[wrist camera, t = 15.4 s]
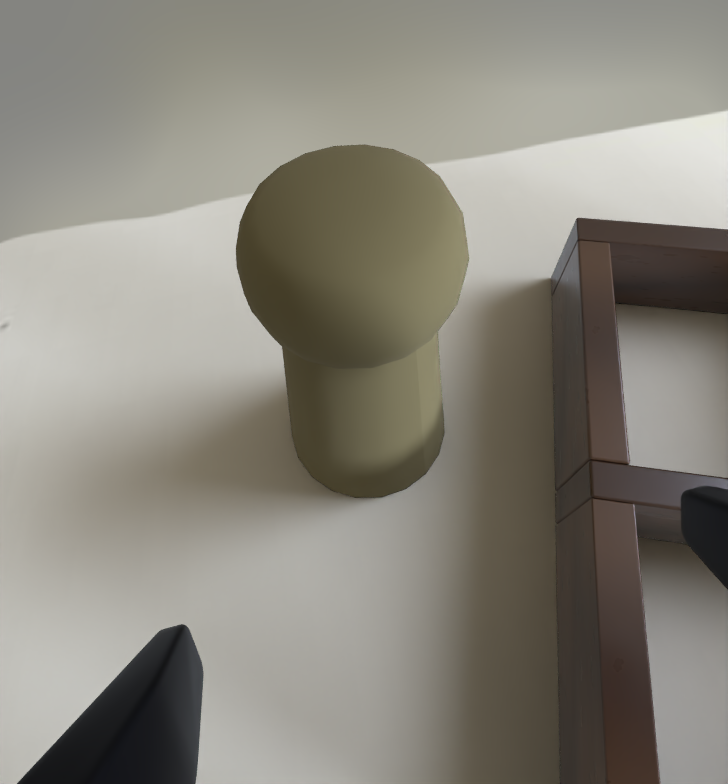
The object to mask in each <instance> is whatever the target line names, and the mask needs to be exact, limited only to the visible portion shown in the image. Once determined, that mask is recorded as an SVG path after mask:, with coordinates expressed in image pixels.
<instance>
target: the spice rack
mask: <svg viewBox="0 0 728 784" xmlns="http://www.w3.org/2000/svg"><path fill="white" fill-rule="evenodd" d="M551 284H552V332H553V386H554V441H555V489H556V491H557V492H556V494H555V495H556V523H557V525H556V573H557V628H558V684H559V740H560V784H660V775H659V764H658V754H657V743H656V732H655V721H654V711H653V700H652V689H651V678H650V668H649V657H648V646H647V635H646V625H645V614H644V603H643V592H642V582H641V571H640V560H639V549H638V539H637V537H643V538H650V539H656V540H663V541H670V542H677V543H683V544H687V543H686V541H685V539H684V537H683V535H682V531H681V495H682V493H683V492H684V491H686V490H688V489H692V488H696V487H700V486H706V485H707V486H713V487H718V488H723V489H728V478H722V477H714V476H707V475H699V474H692V473H684V472H676V471H669V470H661V469H654V468H646V467H639V466H631V465H629V463H630V460H629V449H628V438H627V427H626V416H625V406H624V395H623V384H622V373H621V362H620V351H619V341H618V330H617V319H616V308H615V303H623V304H634V305H644V306H654V307H665V308H675V309H685V310H696V311H706V312H716V313H727V314H728V229H715V228H702V227H689V226H677V225H664V224H651V223H638V222H626V221H613V220H600V219H587V218H577V219H576V221H575V223H574V226H573V228H572V230H571V233H570V235H569V237H568V240H567V242H566V244H565V247H564V249H563V251H562V253H561V256H560V258H559V260H558V263H557V265H556V267H555V270H554V272H553V274H552V277H551Z"/></svg>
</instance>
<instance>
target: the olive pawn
mask: <svg viewBox="0 0 728 784" xmlns="http://www.w3.org/2000/svg"><path fill="white" fill-rule="evenodd" d="M236 260H237V270H238V273H239V277H240V280H241V284H242V288H243V291H244V295H245V297H246V299H247V302H248V304H249V306H250V309H251V311H252V312H253V313H254V315H255V316H256V317H257V318H258V320H259V321H260V322H261V323H262V325H263V326H264V327H265V328H266V330H267V331H268V332H269V333H270V335H271V336H272V337H273V338H274V339H275V340H276V341H277V342H278V343H279V344H280V345H281V346H282V349H283V358H284V368H285V377H286V386H287V395H288V404H289V413H290V422H291V431H292V438H293V441H294V445H295V448H296V452H297V455H298V458H299V459H300V461H301V462H302V463H303V465H304V466H305V468H306V469H307V470H308V472H309V473H310V475H311V476H312V477H313V478H315V479H316V480H318V481H319V482H320V483H322V484H323V485H325V486H326V487H328V488H329V489H330V490H332V491H335V492H339V493H342V494H345V495H349V496H352V497H355V498H361V497H383V496H386V495H389V494H392V493H395V492H398V491H401V490H404V489H406V488H407V487H409V486H410V485H411V484H413V483H414V482H415V481H417V480H418V479H419V478H421V477H422V476H423V475H425V474H426V472H427V471H428V469H429V468H430V467H431V465H432V464H433V462H434V461H435V459H436V458H437V456H438V455H439V452H440V448H441V444H442V440H443V436H444V418H443V403H442V389H441V375H440V361H439V346H438V330H439V329H440V328H441V326H442V325H443V324H444V322H445V321H446V320H447V318H448V317H449V316H450V314H451V313H452V311H453V310H454V308H455V306H456V305H457V303H458V299H459V296H460V292H461V289H462V285H463V282H464V278H465V274H466V270H467V266H468V261H469V254H468V247H467V239H466V232H465V225H464V218H463V213H462V211H461V210H460V208H459V206H458V205H457V203H456V201H455V200H454V198H453V196H452V195H451V193H450V192H449V190H448V188H447V187H446V185H445V184H444V182H443V181H442V179H441V177H440V176H439V175H437V174H436V173H435V172H434V171H432V170H431V169H430V168H429V167H427V166H426V165H425V164H424V163H422V162H421V161H420V160H418V159H415V158H413V157H410V156H408V155H406V154H403V153H401V152H398V151H396V150H394V149H388V148H381V147H375V146H369V145H350V146H349V145H347V146H333V147H329V148H325V149H321V150H317V151H313V152H309V153H305V154H303V155H301V156H300V157H297V158H295V159H294V160H292V161H290V162H288V163H286V164H284V165H282V166H280V167H279V168H277V169H276V170H275V171H274V172H273V173H272V174H271V175H270V176H268V177H267V178H266V179H265V180H264V181H263V182H262V183H260V185H259V186H258V188H257V190H256V191H255V193H254V194H253V196H252V198H251V200H250V201H249V203H248V205H247V206H246V209H245V211H244V214H243V216H242V219H241V221H240V225H239V232H238V238H237V245H236Z"/></svg>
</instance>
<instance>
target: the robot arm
mask: <svg viewBox="0 0 728 784" xmlns="http://www.w3.org/2000/svg"><path fill="white" fill-rule="evenodd" d="M681 531H682V535H683V537H684V539H685V541H686V543H687V544H688V545H689V546H690V548H691V549H692V550H693V551H694V552H695V553H696V554H697V555H698V557H699V558H700V559H701V560H702V561H703V562H704V563H705V565H706V566H707V567H708V568H709V569H710V570H711V571H712V572H713V574H714V575H715V576H716V577H717V578H718V579H719V580H720V581H721V583H722V584H723V585H724V586H725V587H726V588H727V589H728V489H723V488H718V487H713V486H707V485H706V486H700V487H696V488H692V489H688V490H686V491H684V492H683V493H682V495H681ZM202 689H203V666H202V662H201V659H200V656H199V654H198V651H197V648H196V646H195V643H194V640H193V638H192V635H191V633H190V630H189V629H188V627H187V626H186V625H183V624H181V625H177V626H173V627H170V628H166V629H163V630H161V631H159V632H158V633H157V634H156V635H155V636H154V637H153V638H152V639H151V641H150V642H149V643H148V644H147V645H146V646H145V647H144V648H143V649H142V650H141V651H140V652H139V653H138V654H137V656H136V657H135V658H134V659H133V660H132V661H131V662H130V663H129V664H128V665H127V666H126V667H125V668H124V669H123V671H122V672H121V673H120V674H119V675H118V676H117V677H116V678H115V679H114V680H113V681H112V682H111V683H110V684H109V686H108V687H107V688H106V689H105V690H104V691H103V692H102V693H101V694H100V695H99V696H98V697H97V698H96V699H95V701H94V702H93V703H92V704H91V705H90V706H89V707H88V708H87V709H86V710H85V711H84V712H83V713H82V714H81V716H80V717H79V718H78V719H77V720H76V721H75V722H74V723H73V724H72V725H71V726H70V727H69V728H68V730H67V731H66V732H65V733H64V734H63V735H62V736H61V737H60V738H59V739H58V740H57V741H56V742H55V743H54V745H53V746H52V747H51V748H50V749H49V750H48V751H47V752H46V753H45V754H44V755H43V756H42V757H41V758H40V760H39V761H38V762H37V763H36V764H35V765H34V766H33V767H32V768H31V769H30V770H29V771H28V772H27V773H26V775H25V776H24V777H23V778H22V779H21V780H20V781H19V782H18V783H17V784H195V783H196V776H197V765H198V752H199V736H200V720H201V705H202Z"/></svg>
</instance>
